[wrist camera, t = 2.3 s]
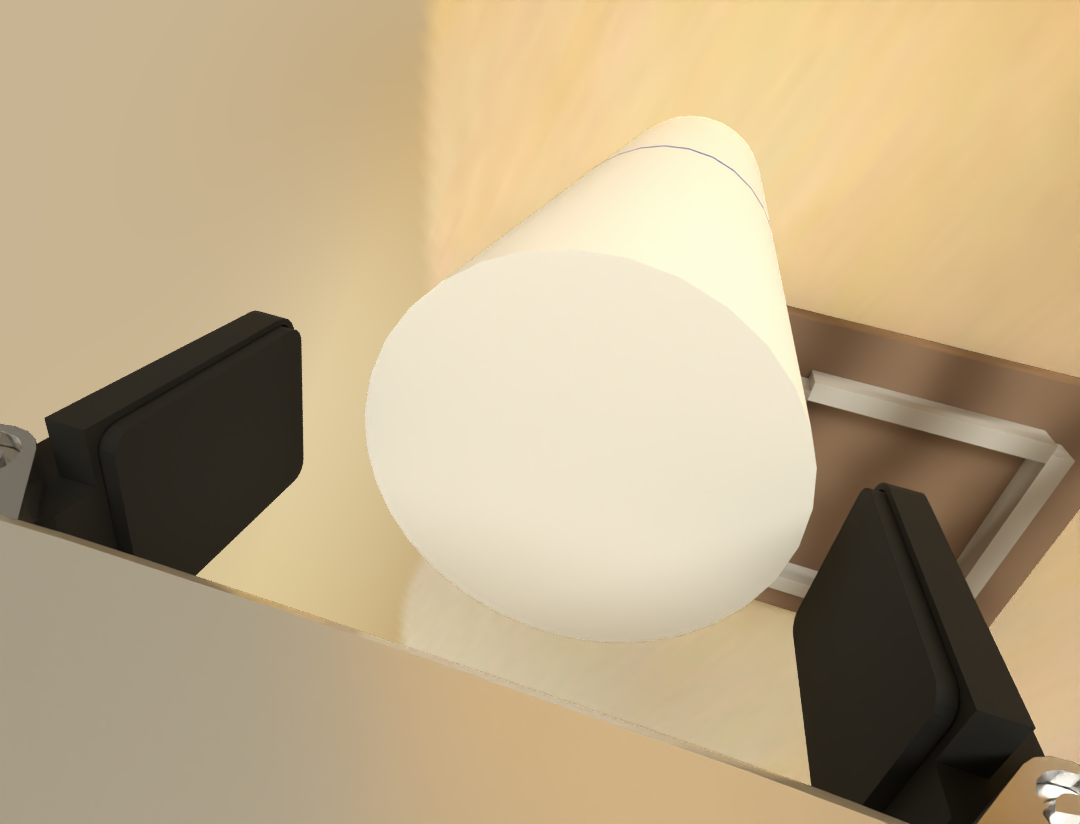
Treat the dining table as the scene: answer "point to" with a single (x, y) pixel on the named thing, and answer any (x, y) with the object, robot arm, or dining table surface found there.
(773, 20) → the dining table surface
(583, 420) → the cylindrical container
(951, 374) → the mount board
